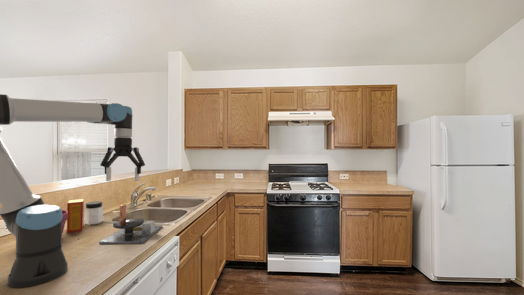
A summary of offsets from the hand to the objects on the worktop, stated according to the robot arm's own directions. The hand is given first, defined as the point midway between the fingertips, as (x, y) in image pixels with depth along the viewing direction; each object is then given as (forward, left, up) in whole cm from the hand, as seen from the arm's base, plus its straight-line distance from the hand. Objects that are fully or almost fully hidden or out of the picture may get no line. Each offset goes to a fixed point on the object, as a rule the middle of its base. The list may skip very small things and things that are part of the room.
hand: (122, 180), depth 117 cm
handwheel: (+6, -2, -27) cm, 28 cm away
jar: (+28, +32, -29) cm, 51 cm away
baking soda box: (+16, +34, -29) cm, 47 cm away
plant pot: (0, +35, -29) cm, 45 cm away
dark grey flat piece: (+6, -3, -29) cm, 29 cm away
